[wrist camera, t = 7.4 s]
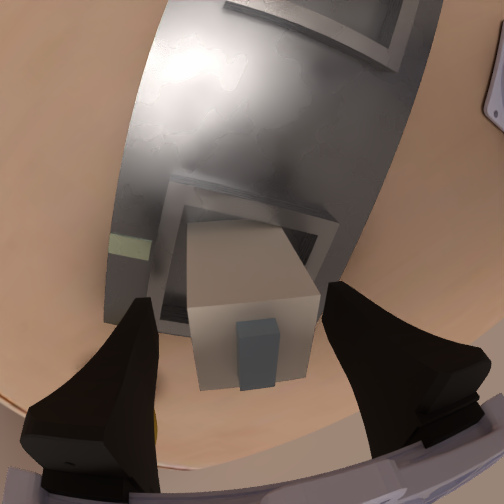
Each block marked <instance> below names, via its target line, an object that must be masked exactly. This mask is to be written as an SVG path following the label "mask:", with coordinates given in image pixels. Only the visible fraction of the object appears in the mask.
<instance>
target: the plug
mask: <svg viewBox="0 0 504 504" xmlns="http://www.w3.org/2000/svg"><path fill="white" fill-rule="evenodd" d="M320 297H321V294H320V293H319V291H318V289H317V287H316V286H315V284H314V282H313V280H312V279H311V277H310V275H309V273H308V272H307V270H306V268H305V267H304V265H303V263H302V262H301V260H300V258H299V256H298V255H297V253H296V251H295V250H294V248H293V246H292V245H291V243H290V241H289V240H288V238H287V236H286V235H285V233H284V231H283V230H282V228H281V226H277V225H273V224H269V223H265V222H260V221H256V220H252V219H237V220H221V221H206V222H192V223H187V311H188V319H189V326H190V332H191V339H192V346H193V352H194V358H195V364H196V370H197V376H198V382H199V387H200V391H204V390H216V389H226V388H235V387H240V391H245V390H253V389H260V388H267V387H274V386H275V382H281V381H287V380H294V379H300V378H305V377H306V372H307V367H308V362H309V357H310V352H311V347H312V342H313V337H314V331H315V326H316V320H317V314H318V308H319V303H320Z"/></svg>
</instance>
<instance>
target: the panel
mask: <svg viewBox="0 0 504 504" xmlns="http://www.w3.org/2000/svg"><path fill="white" fill-rule="evenodd" d="M442 4H443V0H169V1H168V3H167V6H166V8H165V11H164V14H163V16H162V19H161V22H160V24H159V27H158V30H157V33H156V36H155V38H154V41H153V44H152V47H151V50H150V53H149V57H148V60H147V63H146V66H145V70H144V73H143V76H142V80H141V83H140V87H139V90H138V94H137V98H136V101H135V105H134V109H133V113H132V117H131V121H130V126H129V130H128V134H127V139H126V143H125V148H124V153H123V158H122V163H121V168H120V174H119V179H118V185H117V191H116V197H115V204H114V210H113V217H112V225H111V233H110V238H109V247H108V260H107V272H106V285H105V301H104V323H109V324H114V325H118V324H119V322H120V321H121V319H122V318H123V316H124V315H125V313H126V312H127V310H128V308H129V307H130V305H131V304H132V302H133V300H134V299H135V298H142V297H151V301H152V306H153V311H154V316H155V321H156V325H157V330H158V332H159V333H165V334H171V335H177V336H184V337H191V332H190V326H189V319H188V311H187V223H192V222H206V221H221V220H237V219H252V220H256V221H260V222H265V223H269V224H273V225H277V226H281V228H282V230H283V231H284V233H285V235H286V236H287V238H288V240H289V241H290V243H291V245H292V246H293V248H294V250H295V251H296V253H297V255H298V256H299V258H300V260H301V262H302V263H303V265H304V267H305V268H306V270H307V272H308V273H309V275H310V277H311V279H312V280H313V282H314V284H315V286H316V287H317V289H318V291H319V293H320V294H321V297H320V303H319V308H318V314H317V320H316V323H317V321H318V320H319V318H320V316H321V314H322V312H323V310H324V305H325V300H326V294H327V289H328V283H329V282H337V281H339V279H340V277H341V275H342V273H343V271H344V269H345V267H346V265H347V263H348V260H349V258H350V256H351V254H352V252H353V250H354V248H355V246H356V244H357V241H358V239H359V237H360V235H361V233H362V231H363V228H364V226H365V224H366V222H367V219H368V217H369V215H370V213H371V210H372V208H373V206H374V204H375V201H376V199H377V197H378V194H379V192H380V189H381V187H382V185H383V182H384V180H385V177H386V175H387V172H388V170H389V168H390V165H391V163H392V160H393V157H394V155H395V152H396V150H397V147H398V144H399V142H400V139H401V137H402V134H403V131H404V128H405V126H406V123H407V120H408V117H409V115H410V112H411V109H412V106H413V103H414V100H415V97H416V94H417V91H418V88H419V85H420V82H421V79H422V76H423V73H424V69H425V66H426V63H427V59H428V56H429V53H430V49H431V46H432V42H433V39H434V35H435V31H436V28H437V24H438V20H439V16H440V12H441V8H442Z"/></svg>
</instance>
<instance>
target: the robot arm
mask: <svg viewBox="0 0 504 504" xmlns="http://www.w3.org/2000/svg"><path fill="white" fill-rule="evenodd" d="M484 113H485V115H486V116H487V117H488V118H489V119H490V120H491V121H492V122H493V123H494V124H495V125H497V126H498V127H499V128H500V129H501V130H502V131H503V132H504V21H503V26H502V32H501V38H500V43H499V48H498V53H497V58H496V62H495V66H494V71H493V75H492V79H491V83H490V87H489V90H488V94H487V98H486V101H485V104H484ZM322 323H323V326H324V329H325V332H326V335H327V337H328V340H329V342H330V344H331V346H332V348H333V350H334V352H335V354H336V356H337V358H338V360H339V362H340V364H341V366H342V368H343V370H344V372H345V374H346V376H347V378H348V380H349V382H350V384H351V387H352V389H353V392H354V395H355V398H356V400H357V403H358V406H359V410H360V413H361V416H362V419H363V423H364V426H365V430H366V434H367V438H368V441H369V446H370V451H371V456H372V459H371V460H368V461H365V462H362V463H358V464H355V465H352V466H349V467H345V468H342V469H339V470H334V471H331V472H327V473H323V474H319V475H315V476H311V477H306V478H301V479H297V480H292V481H287V482H281V483H276V484H270V485H264V486H257V487H250V488H243V489H234V490H224V491H212V492H198V493H161V492H160V485H159V478H158V469H157V459H156V448H155V433H154V399H155V389H156V379H157V370H158V360H159V334H158V330H157V325H156V321H155V316H154V311H153V306H152V301H151V297H142V298H135V299H134V300H133V302H132V304H131V305H130V307H129V308H128V310H127V312H126V313H125V315H124V316H123V318H122V319H121V321H120V322H119V324H118V325H117V327H116V328H115V330H114V331H113V332H112V334H111V335H110V337H109V338H108V339H107V340H106V342H105V343H104V344H103V346H102V347H101V348H100V349H99V351H98V352H97V353H96V354H95V355H94V356H93V358H92V359H91V360H90V361H89V362H88V363H87V364H86V365H85V366H84V367H83V368H82V369H81V370H80V371H79V372H77V373H76V374H75V375H74V376H73V377H72V378H71V379H70V380H69V381H67V382H66V383H65V384H64V385H62V386H61V387H60V388H58V389H57V390H56V391H54V392H53V393H52V394H50V395H49V396H47V397H46V398H44V399H42V400H41V401H39V402H38V403H36V404H34V405H33V406H31V407H29V409H28V412H27V415H26V417H25V421H24V425H23V430H22V434H21V438H20V443H21V445H22V447H23V448H24V450H25V451H26V452H27V453H28V454H29V455H30V456H31V457H32V458H33V459H34V460H35V461H36V462H38V464H40V465H41V466H42V467H43V474H42V476H41V475H40V474H38V473H36V472H32V471H28V470H24V469H20V468H15V467H12V466H10V467H8V472H7V477H6V483H5V488H4V494H3V501H2V504H431V503H433V502H435V501H437V500H439V499H440V498H442V497H444V496H446V495H447V494H449V493H451V492H452V491H454V490H456V489H457V488H459V487H460V486H462V485H464V484H465V483H467V482H468V481H470V480H471V479H473V478H474V477H476V476H477V475H479V474H480V473H482V472H483V471H485V470H486V469H488V468H489V467H490V466H492V465H493V464H495V463H496V462H497V461H498V460H500V459H501V458H502V457H503V456H504V396H503V395H502V393H499V394H498V395H496V396H494V397H493V398H491V399H489V400H487V401H486V402H485V403H483V404H482V405H481V406H480V405H479V404H478V402H477V401H478V400H479V395H478V394H477V392H476V391H477V389H478V388H479V387H480V385H481V384H482V383H483V381H484V380H485V378H486V377H487V375H488V373H489V371H490V369H491V360H490V359H489V358H488V357H487V355H486V354H485V353H484V352H483V350H482V349H481V348H479V347H474V346H469V345H465V344H460V343H457V342H453V341H450V340H446V339H443V338H441V337H438V336H435V335H433V334H430V333H428V332H425V331H423V330H421V329H418V328H416V327H414V326H412V325H410V324H408V323H406V322H404V321H403V320H401V319H399V318H397V317H396V316H394V315H392V314H391V313H389V312H387V311H386V310H384V309H383V308H381V307H380V306H378V305H377V304H375V303H374V302H372V301H371V300H369V299H368V298H366V297H365V296H363V295H362V294H361V293H359V292H358V291H356V290H355V289H353V288H352V287H350V286H349V285H347V284H346V283H344V282H343V281H337V282H329V283H328V289H327V294H326V300H325V305H324V310H323V315H322Z"/></svg>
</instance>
